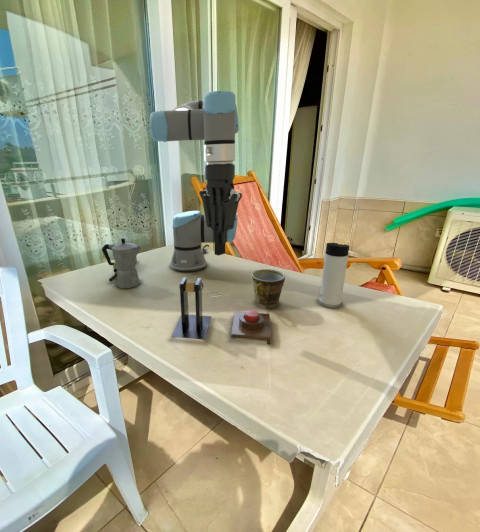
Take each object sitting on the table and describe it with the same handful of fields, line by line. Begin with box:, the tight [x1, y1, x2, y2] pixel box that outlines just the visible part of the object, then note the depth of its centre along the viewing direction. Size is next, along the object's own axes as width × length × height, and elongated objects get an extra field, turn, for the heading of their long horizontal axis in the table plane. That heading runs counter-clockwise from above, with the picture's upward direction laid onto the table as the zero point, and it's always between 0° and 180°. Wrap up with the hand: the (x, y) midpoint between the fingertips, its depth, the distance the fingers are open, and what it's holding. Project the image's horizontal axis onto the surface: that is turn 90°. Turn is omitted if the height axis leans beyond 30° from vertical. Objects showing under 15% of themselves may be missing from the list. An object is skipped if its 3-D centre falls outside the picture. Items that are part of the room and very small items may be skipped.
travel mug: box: [318, 242, 350, 309], centre depth 92 cm, size 6×7×20 cm
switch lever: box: [186, 280, 204, 293], centre depth 85 cm, size 13×3×3 cm, turn 168°
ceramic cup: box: [251, 268, 286, 309], centre depth 94 cm, size 13×10×10 cm
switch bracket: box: [171, 277, 212, 341], centre depth 82 cm, size 12×9×15 cm
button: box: [244, 309, 260, 322], centre depth 82 cm, size 4×4×2 cm
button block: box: [230, 311, 272, 345], centre depth 83 cm, size 12×10×4 cm
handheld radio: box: [108, 256, 138, 282], centre depth 128 cm, size 7×3×25 cm
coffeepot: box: [101, 238, 142, 289], centre depth 113 cm, size 15×9×18 cm, turn 79°
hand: (219, 253), depth 83 cm, fingers closed
